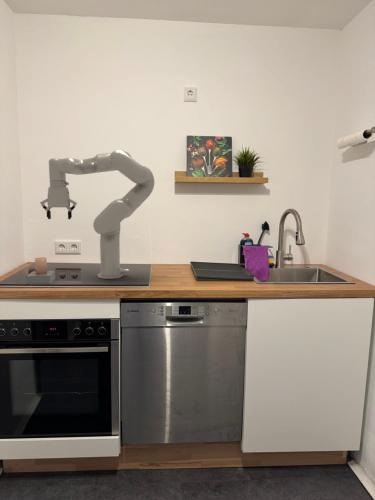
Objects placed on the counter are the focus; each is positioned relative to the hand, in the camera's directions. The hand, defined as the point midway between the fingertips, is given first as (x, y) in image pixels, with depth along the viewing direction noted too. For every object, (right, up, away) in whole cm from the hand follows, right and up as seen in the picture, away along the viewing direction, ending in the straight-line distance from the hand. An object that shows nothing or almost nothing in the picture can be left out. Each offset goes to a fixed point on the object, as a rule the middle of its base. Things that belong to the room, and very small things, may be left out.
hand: (59, 219), depth 176 cm
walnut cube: (-13, -29, -1) cm, 31 cm away
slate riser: (-4, -30, -11) cm, 33 cm away
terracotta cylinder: (-4, -26, -11) cm, 29 cm away
